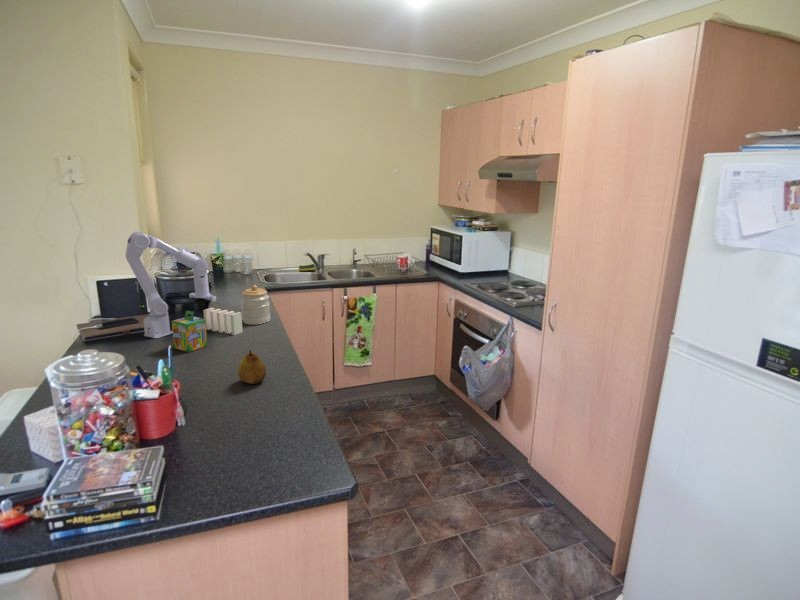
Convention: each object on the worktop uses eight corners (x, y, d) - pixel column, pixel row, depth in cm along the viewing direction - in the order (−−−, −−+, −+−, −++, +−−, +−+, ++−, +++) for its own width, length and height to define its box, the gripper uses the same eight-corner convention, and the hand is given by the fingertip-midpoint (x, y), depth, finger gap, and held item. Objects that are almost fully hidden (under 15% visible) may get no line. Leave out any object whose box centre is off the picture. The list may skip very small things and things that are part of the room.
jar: (274, 318, 228) (272, 282, 224) (264, 325, 216) (262, 288, 212) (248, 317, 230) (246, 281, 225) (237, 324, 217) (234, 287, 213)
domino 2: (222, 328, 211) (221, 309, 209) (214, 331, 207) (212, 311, 205) (219, 327, 212) (218, 308, 210) (211, 330, 208) (209, 311, 205)
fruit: (250, 374, 161) (248, 341, 158) (271, 379, 158) (270, 345, 155) (232, 384, 153) (229, 349, 150) (255, 389, 150) (252, 353, 147)
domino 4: (235, 330, 208) (234, 311, 206) (227, 333, 204) (226, 314, 201) (233, 330, 208) (231, 310, 206) (225, 333, 204) (223, 313, 202)
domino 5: (242, 332, 206) (241, 312, 204) (234, 335, 202) (233, 315, 200) (239, 331, 207) (238, 312, 205) (231, 334, 203) (230, 314, 200)
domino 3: (229, 329, 210) (227, 310, 207) (220, 332, 205) (219, 312, 203) (226, 329, 210) (225, 309, 208) (218, 332, 206) (216, 312, 204)
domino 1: (216, 327, 213) (214, 308, 211) (207, 329, 209) (205, 310, 206) (213, 326, 214) (211, 307, 211) (205, 329, 209) (203, 310, 207)
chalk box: (173, 348, 185) (169, 312, 181) (192, 342, 192) (189, 307, 189) (189, 353, 180) (185, 316, 177) (208, 346, 188) (205, 310, 185)
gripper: (220, 285, 208) (222, 314, 212) (197, 282, 214) (199, 310, 218) (208, 288, 202) (210, 318, 205) (184, 284, 208) (187, 314, 211)
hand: (204, 314), depth 211 cm, fingers closed
